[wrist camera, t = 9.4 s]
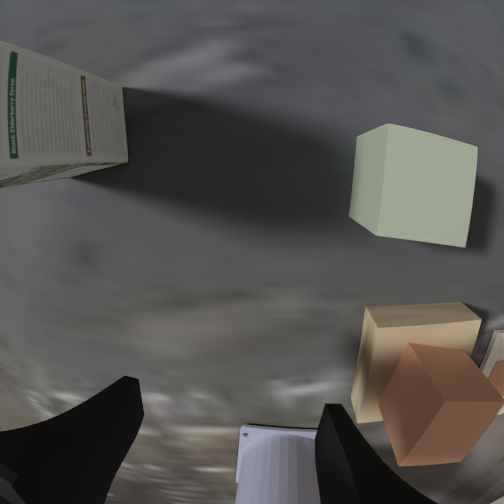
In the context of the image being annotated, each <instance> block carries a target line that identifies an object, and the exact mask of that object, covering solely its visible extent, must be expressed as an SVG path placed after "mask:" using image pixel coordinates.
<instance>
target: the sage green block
mask: <svg viewBox="0 0 504 504" xmlns="http://www.w3.org/2000/svg"><path fill="white" fill-rule="evenodd" d="M477 149H478V147H476V146H473V145H469V144H466V143H463V142H460V141H456V140H453V139H450V138H446V137H443V136H439V135H435V134H432V133H428V132H424V131H420V130H416V129H412V128H407V127H403V126H399V125H394V124H389V123H388V124H385V125H383V126H380V127H378V128H376V129H373V130H371V131H369V132H366V133H364V134H362V135H360V136H357V140H356V153H355V164H354V174H353V184H352V193H351V201H350V210H349V217H350V218H352V219H353V220H355V221H356V222H358V223H359V224H360V225H362V226H363V227H365V228H366V229H368V230H369V231H371V232H372V233H373V234H375V235H376V236H384V237H392V238H400V239H407V240H415V241H422V242H429V243H436V244H443V245H450V246H457V247H464V248H465V246H466V241H467V235H468V230H469V224H470V217H471V211H472V204H473V196H474V187H475V177H476V165H477Z"/></svg>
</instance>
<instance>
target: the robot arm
mask: <svg viewBox="0 0 504 504" xmlns="http://www.w3.org/2000/svg"><path fill="white" fill-rule="evenodd" d="M143 417H144V410H143V404H142V398H141V392H140V385H139V379H137V378H133V377H128V376H124V377H122V378H120V379H119V380H117V381H116V382H114V383H113V384H111V385H110V386H108V387H107V388H105V389H104V390H102V391H101V392H99V393H98V394H96V395H95V396H93V397H91V398H90V399H88V400H87V401H85V402H83V403H81V404H79V405H78V406H76V407H74V408H72V409H70V410H69V411H67V412H64V413H62V414H60V415H58V416H56V417H53V418H51V419H48V420H46V421H43V422H40V423H37V424H33V425H30V426H27V427H23V428H18V429H14V430H8V431H1V432H0V504H104V502H105V499H106V497H107V494H108V491H109V489H110V486H111V483H112V481H113V479H114V477H115V475H116V472H117V471H118V469H119V467H120V465H121V463H122V462H123V460H124V458H125V456H126V454H127V452H128V451H129V449H130V447H131V445H132V443H133V441H134V440H135V438H136V436H137V433H138V431H139V428H140V426H141V423H142V420H143ZM245 433H248V434H245ZM236 482H237V483H238V488H237V495H236V501H235V504H438V503H436V502H434V501H432V500H431V499H429V498H427V497H426V496H424V495H423V494H421V493H420V492H418V491H417V490H415V489H414V488H413V487H411V486H410V485H409V484H407V483H406V482H405V481H403V480H402V479H401V478H400V477H399V476H398V475H396V474H395V473H394V472H393V471H392V470H391V469H390V468H389V467H388V466H387V465H386V464H385V463H384V462H383V460H382V459H381V458H380V457H379V456H378V455H377V454H376V452H375V451H374V450H373V449H372V448H371V446H370V445H369V444H368V442H367V441H366V440H365V438H364V437H363V436H362V434H361V433H360V432H359V430H358V429H357V427H356V426H355V424H354V423H353V421H352V420H351V418H350V417H349V415H348V413H347V412H346V410H345V409H344V407H343V406H342V404H326V403H325V407H324V410H323V413H322V417H321V420H320V423H319V427H318V430H313V429H292V428H277V427H265V426H255V425H243V426H241V430H240V441H239V452H238V463H237V474H236Z"/></svg>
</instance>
